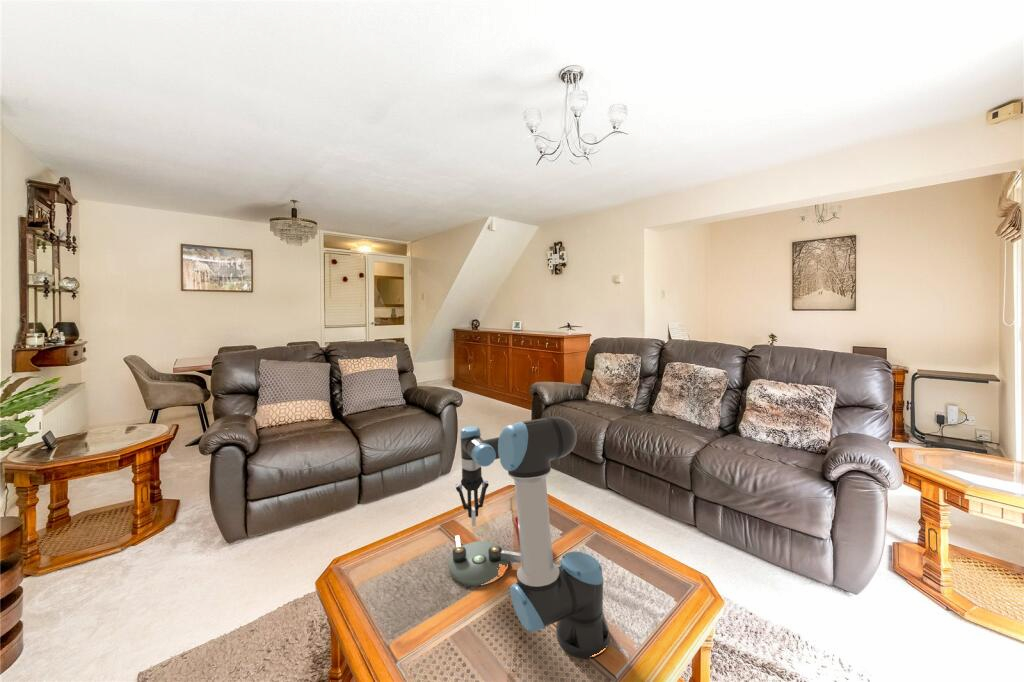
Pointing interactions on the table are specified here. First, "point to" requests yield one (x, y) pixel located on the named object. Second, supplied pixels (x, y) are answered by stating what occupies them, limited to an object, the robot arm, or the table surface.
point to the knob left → (459, 551)
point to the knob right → (503, 555)
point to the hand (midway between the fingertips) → (473, 524)
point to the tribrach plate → (476, 564)
